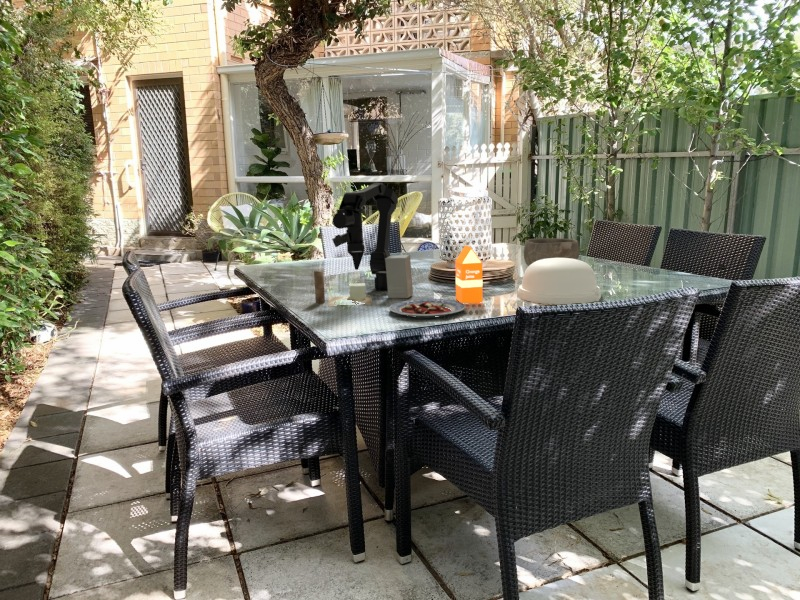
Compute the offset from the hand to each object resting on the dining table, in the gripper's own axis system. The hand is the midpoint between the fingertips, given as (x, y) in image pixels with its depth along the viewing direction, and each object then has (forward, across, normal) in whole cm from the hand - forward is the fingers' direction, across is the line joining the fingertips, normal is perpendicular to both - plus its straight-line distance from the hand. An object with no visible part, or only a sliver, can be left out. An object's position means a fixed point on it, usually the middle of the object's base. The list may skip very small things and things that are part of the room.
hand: (356, 267), depth 235 cm
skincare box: (+12, +1, +16) cm, 20 cm away
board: (+12, +5, -3) cm, 13 cm away
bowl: (+12, -38, +88) cm, 97 cm away
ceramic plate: (+12, +29, +23) cm, 39 cm away
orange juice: (+12, +15, +40) cm, 44 cm away
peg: (+12, +6, -14) cm, 19 cm away
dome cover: (+12, +12, +74) cm, 76 cm away
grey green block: (+12, 0, 0) cm, 12 cm away
